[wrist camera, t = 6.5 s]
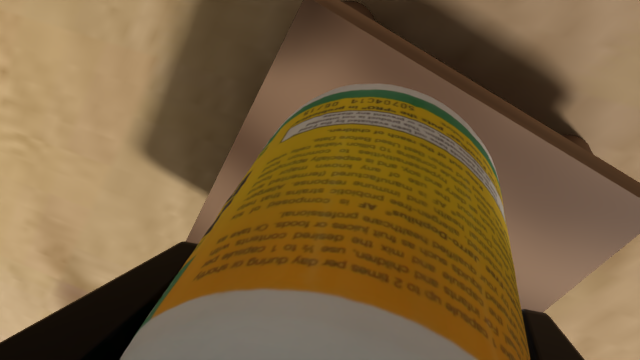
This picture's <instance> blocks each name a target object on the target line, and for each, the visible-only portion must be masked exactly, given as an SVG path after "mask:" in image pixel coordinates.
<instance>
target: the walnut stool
mask: <svg viewBox="0 0 640 360" xmlns="http://www.w3.org/2000/svg"><path fill="white" fill-rule="evenodd" d="M354 84H388V85H395V86H400V87H404V88H408V89H411V90H415V91H418V92H420V93H423V94H425V95H428V96H430V97H432V98H434V99H435V100H437V101H439V102H441V103H443V104H444V105H446V106H447V107H448V108H450V109H451V110H453V111H454V112H455V113H456V114H458V115H459V116H460V117H461V118H462V119H463V120H464V121H465V122H466V123H467V124H468V125H469V126H470V127H471V128H472V130H473V131H474V132H475V133H476V135H477V136H478V137H479V138H480V140H481V141H482V143H483V144H484V146H485V147H486V149H487V150H488V152H489V154H490V156H491V158H492V160H493V163H494V166H495V169H496V172H497V176H498V180H499V184H500V189H501V193H502V200H503V206H504V213H505V218H506V224H507V230H508V235H509V241H510V247H511V253H512V259H513V264H514V269H515V276H516V283H517V289H518V294H519V300H520V305H521V309H528V310H533V311H538V312H544V311H545V310H546V309H548V308H549V307H550V306H551V305H552V304H554V303H555V302H556V301H557V300H559V299H560V298H561V297H562V296H564V295H565V294H566V293H567V292H568V291H570V290H571V289H572V288H573V287H575V286H576V285H577V284H578V283H580V282H581V281H582V280H583V279H584V278H586V277H587V276H588V275H589V274H591V273H592V272H593V271H594V270H596V269H597V268H598V267H599V266H600V265H602V264H603V263H604V262H605V261H607V260H608V259H609V258H610V257H612V256H613V255H614V254H615V253H616V252H618V251H619V250H620V249H621V248H623V247H624V246H625V245H626V244H627V243H629V242H630V241H631V240H632V239H634V238H635V237H636V236H637V235H639V234H640V183H639V182H637V181H636V180H634V179H632V178H631V177H629V176H627V175H626V174H624V173H623V172H621V171H619V170H618V169H616V168H614V167H613V166H611V165H609V164H608V163H606V162H605V161H603V160H601V159H600V158H598V157H596V156H595V155H593V153H592V151H591V149H590V147H589V145H588V144H587V143H586V142H585V141H584V140H583V139H581V138H579V137H577V136H574V135H560V134H559V133H557V132H555V131H554V130H552V129H550V128H549V127H547V126H545V125H544V124H542V123H540V122H539V121H537V120H536V119H534V118H532V117H531V116H529V115H527V114H526V113H524V112H522V111H521V110H519V109H518V108H516V107H514V106H513V105H511V104H509V103H508V102H506V101H504V100H503V99H501V98H499V97H498V96H496V95H495V94H493V93H491V92H490V91H488V90H486V89H485V88H483V87H481V86H480V85H478V84H476V83H475V82H473V81H472V80H470V79H468V78H467V77H465V76H463V75H462V74H460V73H458V72H457V71H455V70H453V69H452V68H450V67H449V66H447V65H445V64H444V63H442V62H440V61H439V60H437V59H435V58H434V57H432V56H430V55H429V54H427V53H426V52H424V51H422V50H421V49H419V48H417V47H416V46H414V45H412V44H411V43H409V42H408V41H406V40H404V39H403V38H401V37H399V36H398V35H396V34H394V33H393V32H391V31H389V30H388V29H386V28H385V27H383V26H381V25H380V24H378V23H376V22H375V21H374V18H373V16H372V14H371V12H370V11H369V10H368V9H367V8H366V7H365V6H364V5H362V4H360V3H358V2H354V1H345V2H342V1H340V0H303V2H302V4H301V6H300V8H299V10H298V12H297V14H296V16H295V18H294V20H293V22H292V24H291V26H290V29H289V31H288V33H287V35H286V37H285V39H284V41H283V43H282V45H281V47H280V49H279V51H278V53H277V55H276V57H275V59H274V61H273V63H272V65H271V68H270V70H269V72H268V74H267V76H266V78H265V80H264V82H263V84H262V86H261V88H260V90H259V92H258V94H257V96H256V98H255V100H254V102H253V105H252V107H251V109H250V111H249V113H248V115H247V117H246V119H245V121H244V123H243V125H242V127H241V129H240V131H239V133H238V135H237V137H236V139H235V141H234V144H233V146H232V148H231V150H230V152H229V154H228V156H227V158H226V160H225V162H224V164H223V166H222V168H221V170H220V172H219V174H218V176H217V178H216V180H215V183H214V185H213V187H212V189H211V191H210V193H209V195H208V197H207V199H206V201H205V203H204V205H203V207H202V209H201V211H200V213H199V215H198V217H197V220H196V222H195V224H194V226H193V228H192V230H191V232H190V234H189V236H188V238H187V240H186V242H191V243H196V244H199V242H200V241H201V239H202V238H203V236H204V235H205V233H206V232H207V230H208V229H209V228H210V227H211V225H212V224H213V223H214V221H215V219H216V218H217V216H218V214H219V213H220V211H221V209H222V208H223V206H224V205H225V203H226V202H227V200H228V199H229V198H230V196H231V195H232V194H233V193H234V191H235V190H236V188H237V187H238V185H239V184H240V182H241V181H242V179H243V178H244V177H245V175H246V174H247V172H248V171H249V170H250V168H251V167H252V165H253V164H254V162H255V161H256V159H257V158H258V156H259V154H260V153H261V152H262V151H263V149H264V148H265V146H266V145H267V143H268V141H269V140H270V139H271V138H272V137H273V135H274V134H275V132H276V131H277V130H278V128H279V127H280V126H281V125H282V124H283V123H284V122H285V121H286V120H287V119H288V117H289V116H291V115H292V114H293V113H294V112H295V111H296V110H298V109H299V108H300V107H301V106H303V105H304V104H306V103H307V102H309V101H310V100H312V99H314V98H315V97H318V96H320V95H322V94H324V93H326V92H328V91H331V90H333V89H336V88H339V87H343V86H348V85H354Z"/></svg>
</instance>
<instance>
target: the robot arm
mask: <svg viewBox="0 0 640 360" xmlns="http://www.w3.org/2000/svg"><path fill="white" fill-rule="evenodd" d="M197 245H198V244H196V243H191V242H180V243H178V244H176V245H175V246H173V247H171V248H169V249H168V250H166V251H164V252H162V253H160V254H159V255H157V256H155V257H153V258H151V259H150V260H148V261H146V262H144V263H142V264H141V265H139V266H137V267H135V268H133V269H132V270H130V271H128V272H126V273H124V274H123V275H121V276H119V277H117V278H115V279H114V280H112V281H110V282H108V283H106V284H105V285H103V286H101V287H99V288H97V289H96V290H94V291H92V292H90V293H88V294H87V295H85V296H83V297H81V298H79V299H78V300H76V301H74V302H72V303H71V304H69V305H67V306H65V307H63V308H62V309H60V310H58V311H56V312H54V313H53V314H51V315H49V316H47V317H45V318H44V319H42V320H40V321H38V322H36V323H35V324H33V325H31V326H29V327H27V328H26V329H24V330H22V331H20V332H18V333H17V334H15V335H13V336H11V337H9V338H8V339H6V340H4V341H2V342H0V360H120V358H121V356H122V355H123V353H124V351H125V350H126V348H127V347H128V346H129V344H130V342H131V341H132V339H133V337H134V336H135V334H136V333H137V331H138V330H139V328H140V327H141V325H142V324H143V323H144V321H145V320H146V318H147V317H148V315H149V314H150V312H151V311H152V309H153V308H154V307H155V305H156V304H157V302H158V301H159V300H160V298H161V297H162V295H163V294H164V293H165V291H166V290H167V288H168V287H169V285H170V284H171V282H172V281H173V279H174V278H175V277H176V275H177V274H178V273H179V271H180V270H181V268H182V267H183V265H184V264H185V262H186V261H187V260H188V258H189V257H190V255H191V254H192V253H193V251H194V250H195V248H196V247H197ZM521 311H522V316H523V321H524V327H525V332H526V338H527V343H528V349H529V354H530V360H584V358H583V357H582V356H581V355H580V353H579V352H578V351H577V350H576V349H575V347H574V346H573V345H572V344H571V342H570V341H569V340H568V339H567V337H566V336H565V335H564V334H563V332H562V331H561V330H560V329H559V328H558V326H557V325H556V324H555V323H554V321H553V320H552V319H551V318H550V317H549V316H548V315H547V314H546V313H543V312H538V311H533V310H528V309H521Z"/></svg>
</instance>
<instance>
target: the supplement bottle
mask: <svg viewBox="0 0 640 360" xmlns="http://www.w3.org/2000/svg"><path fill="white" fill-rule="evenodd" d="M120 360H530V354H529V349H528V343H527V338H526V332H525V327H524V321H523V316H522V311H521V305H520V300H519V294H518V289H517V283H516V276H515V269H514V264H513V259H512V253H511V247H510V241H509V235H508V230H507V224H506V218H505V213H504V206H503V200H502V193H501V189H500V184H499V180H498V176H497V172H496V169H495V166H494V163H493V160H492V158H491V156H490V154H489V152H488V150H487V149H486V147H485V146H484V144H483V143H482V141H481V140H480V138H479V137H478V136H477V135H476V133H475V132H474V131H473V130H472V128H471V127H470V126H469V125H468V124H467V123H466V122H465V121H464V120H463V119H462V118H461V117H460V116H459V115H458V114H456V113H455V112H454V111H453V110H451V109H450V108H448V107H447V106H446V105H444V104H443V103H441V102H439V101H437V100H435V99H434V98H432V97H430V96H428V95H425V94H423V93H420V92H418V91H415V90H411V89H408V88H404V87H400V86H395V85H388V84H354V85H348V86H343V87H339V88H336V89H333V90H331V91H328V92H326V93H324V94H322V95H320V96H318V97H315V98H314V99H312V100H310V101H309V102H307V103H306V104H304V105H303V106H301V107H300V108H299V109H298V110H296V111H295V112H294V113H293V114H292V115H291V116H289V117H288V119H287V120H286V121H285V122H284V123H283V124H282V125H281V126H280V127H279V128H278V130H277V131H276V132H275V134H274V135H273V137H272V138H271V139H270V140H269V141H268V143H267V145H266V146H265V148H264V149H263V151H262V152H261V153H260V154H259V156H258V158H257V159H256V161H255V162H254V164H253V165H252V167H251V168H250V170H249V171H248V172H247V174H246V175H245V177H244V178H243V179H242V181H241V182H240V184H239V185H238V187H237V188H236V190H235V191H234V193H233V194H232V195H231V196H230V198H229V199H228V200H227V202H226V203H225V205H224V206H223V208H222V209H221V211H220V213H219V214H218V216H217V218H216V219H215V221H214V223H213V224H212V225H211V227H210V228H209V229H208V230H207V232H206V233H205V235H204V236H203V238H202V239H201V241H200V242H199V244H198V245H197V247H196V248H195V250H194V251H193V253H192V254H191V255H190V257H189V258H188V260H187V261H186V262H185V264H184V265H183V267H182V268H181V270H180V271H179V273H178V274H177V275H176V277H175V278H174V279H173V281H172V282H171V284H170V285H169V287H168V288H167V290H166V291H165V293H164V294H163V295H162V297H161V298H160V300H159V301H158V302H157V304H156V305H155V307H154V308H153V309H152V311H151V312H150V314H149V315H148V317H147V318H146V320H145V321H144V323H143V324H142V325H141V327H140V328H139V330H138V331H137V333H136V334H135V336H134V337H133V339H132V341H131V342H130V344H129V346H128V347H127V348H126V350H125V351H124V353H123V355H122V356H121V358H120Z"/></svg>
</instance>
